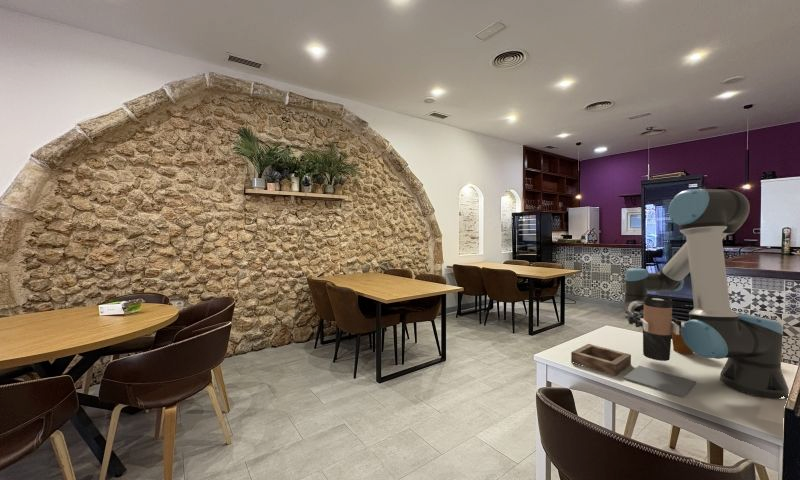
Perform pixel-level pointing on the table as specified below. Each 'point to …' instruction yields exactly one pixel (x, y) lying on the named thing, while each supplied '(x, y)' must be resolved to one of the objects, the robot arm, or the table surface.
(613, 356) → the frame
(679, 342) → the disposable coffee cup
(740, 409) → the table surface
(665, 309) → the travel mug
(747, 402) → the table surface
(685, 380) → the rubber mat
